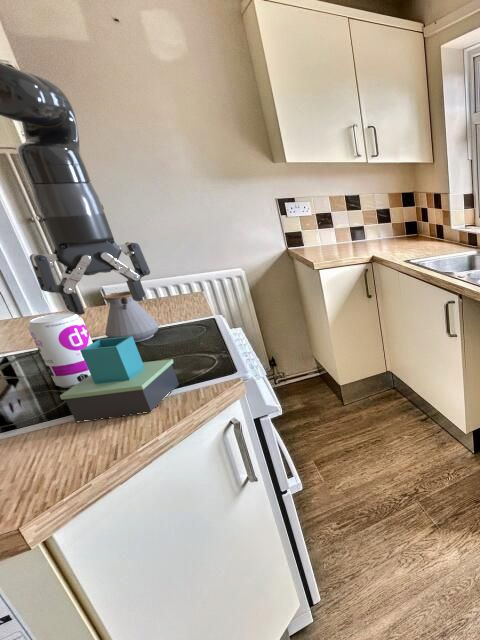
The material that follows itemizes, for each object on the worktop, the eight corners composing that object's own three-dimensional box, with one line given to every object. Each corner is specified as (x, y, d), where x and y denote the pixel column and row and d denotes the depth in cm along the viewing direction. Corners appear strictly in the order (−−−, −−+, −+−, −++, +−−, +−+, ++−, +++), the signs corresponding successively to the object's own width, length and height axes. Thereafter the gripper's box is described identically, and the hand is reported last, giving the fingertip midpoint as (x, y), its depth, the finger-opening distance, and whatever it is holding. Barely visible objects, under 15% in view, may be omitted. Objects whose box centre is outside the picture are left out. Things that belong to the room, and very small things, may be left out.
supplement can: (115, 373, 98) (90, 312, 92) (76, 390, 90) (45, 324, 84) (87, 371, 99) (60, 310, 93) (46, 388, 92) (13, 323, 86)
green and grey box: (73, 424, 78) (59, 395, 75) (113, 392, 89) (101, 366, 87) (152, 413, 81) (141, 385, 78) (181, 384, 92) (172, 359, 90)
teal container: (94, 384, 79) (79, 350, 77) (112, 371, 84) (98, 339, 82) (129, 380, 81) (116, 346, 78) (144, 368, 86) (132, 336, 83)
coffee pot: (107, 339, 119) (86, 287, 113) (158, 328, 126) (140, 279, 121) (115, 360, 105) (91, 302, 99) (172, 346, 112) (152, 292, 107)
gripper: (114, 208, 77) (145, 294, 83) (1, 216, 65) (47, 316, 71) (136, 209, 73) (166, 298, 80) (21, 217, 62) (67, 321, 68)
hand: (110, 306), depth 75 cm, fingers open, 8 cm apart
